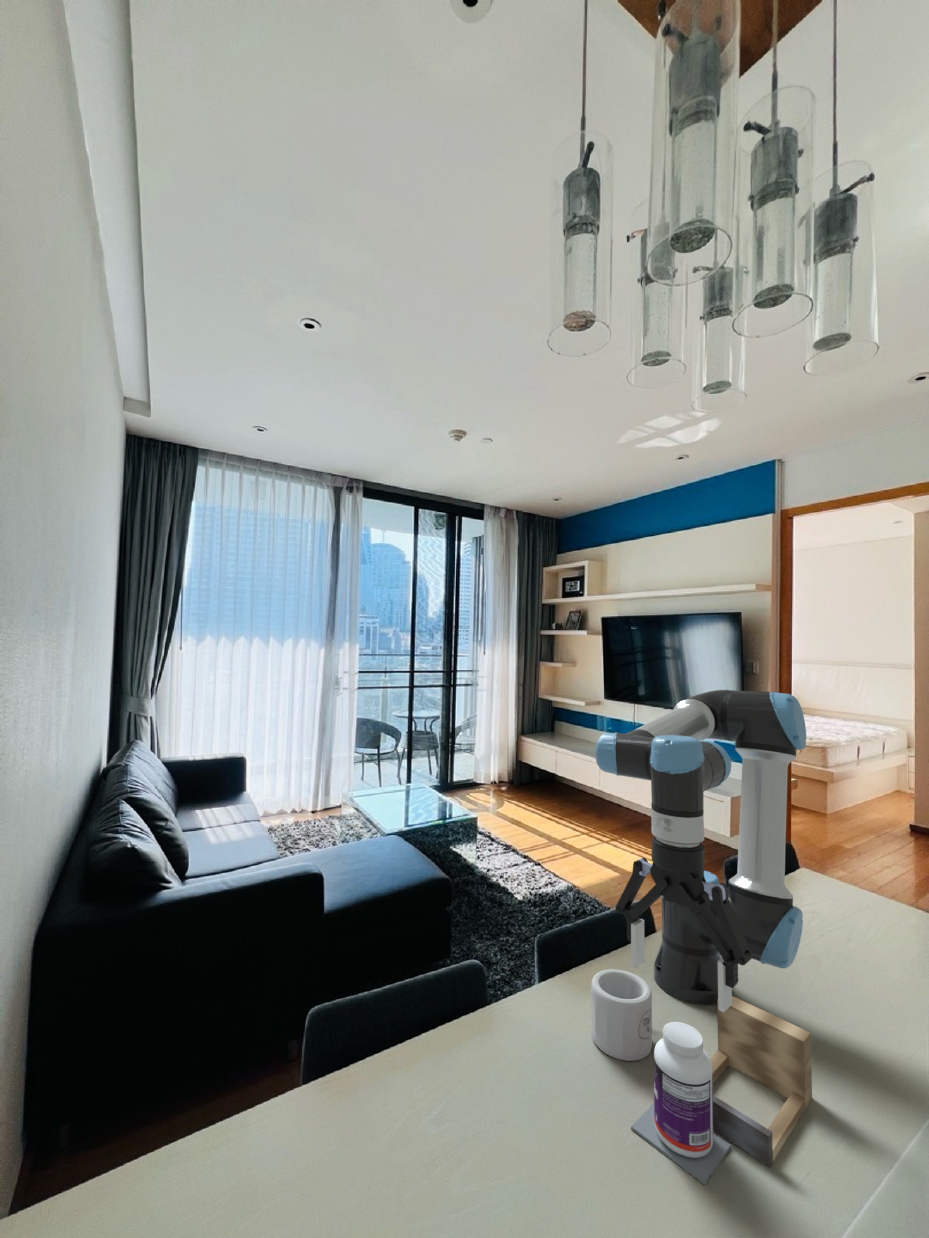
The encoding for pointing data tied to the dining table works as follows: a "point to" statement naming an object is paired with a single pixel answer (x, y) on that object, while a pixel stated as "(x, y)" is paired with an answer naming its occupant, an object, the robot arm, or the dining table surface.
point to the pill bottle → (683, 1091)
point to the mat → (694, 1166)
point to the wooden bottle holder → (762, 1075)
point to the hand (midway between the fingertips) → (678, 984)
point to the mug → (621, 1014)
